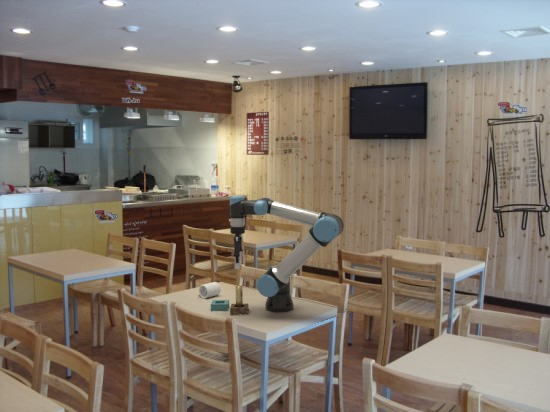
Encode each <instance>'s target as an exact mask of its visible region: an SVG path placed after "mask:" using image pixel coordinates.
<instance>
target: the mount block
mask: <svg viewBox="0 0 550 412" xmlns="http://www.w3.org/2000/svg"><path fill="white" fill-rule="evenodd" d="M229 307H230V308H229V311H230V313H229V314H230V316H239V315H238V314H249V303H248V302H247V303H243V307H236V303H231V305H230V306H229Z"/></svg>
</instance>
